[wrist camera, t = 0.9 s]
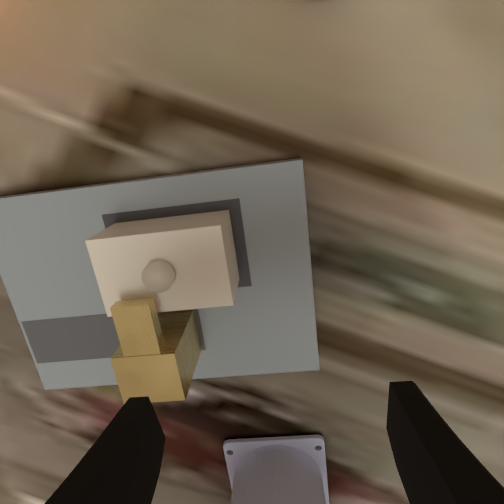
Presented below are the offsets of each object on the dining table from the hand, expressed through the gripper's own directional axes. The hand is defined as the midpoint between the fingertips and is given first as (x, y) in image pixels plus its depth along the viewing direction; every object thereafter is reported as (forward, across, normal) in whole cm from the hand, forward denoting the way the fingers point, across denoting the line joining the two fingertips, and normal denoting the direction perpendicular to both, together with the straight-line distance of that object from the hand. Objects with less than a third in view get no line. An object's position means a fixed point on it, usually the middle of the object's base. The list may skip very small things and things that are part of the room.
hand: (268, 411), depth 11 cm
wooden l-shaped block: (+11, +7, +4) cm, 14 cm away
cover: (+12, +6, 0) cm, 13 cm away
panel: (+13, +8, +3) cm, 15 cm away
